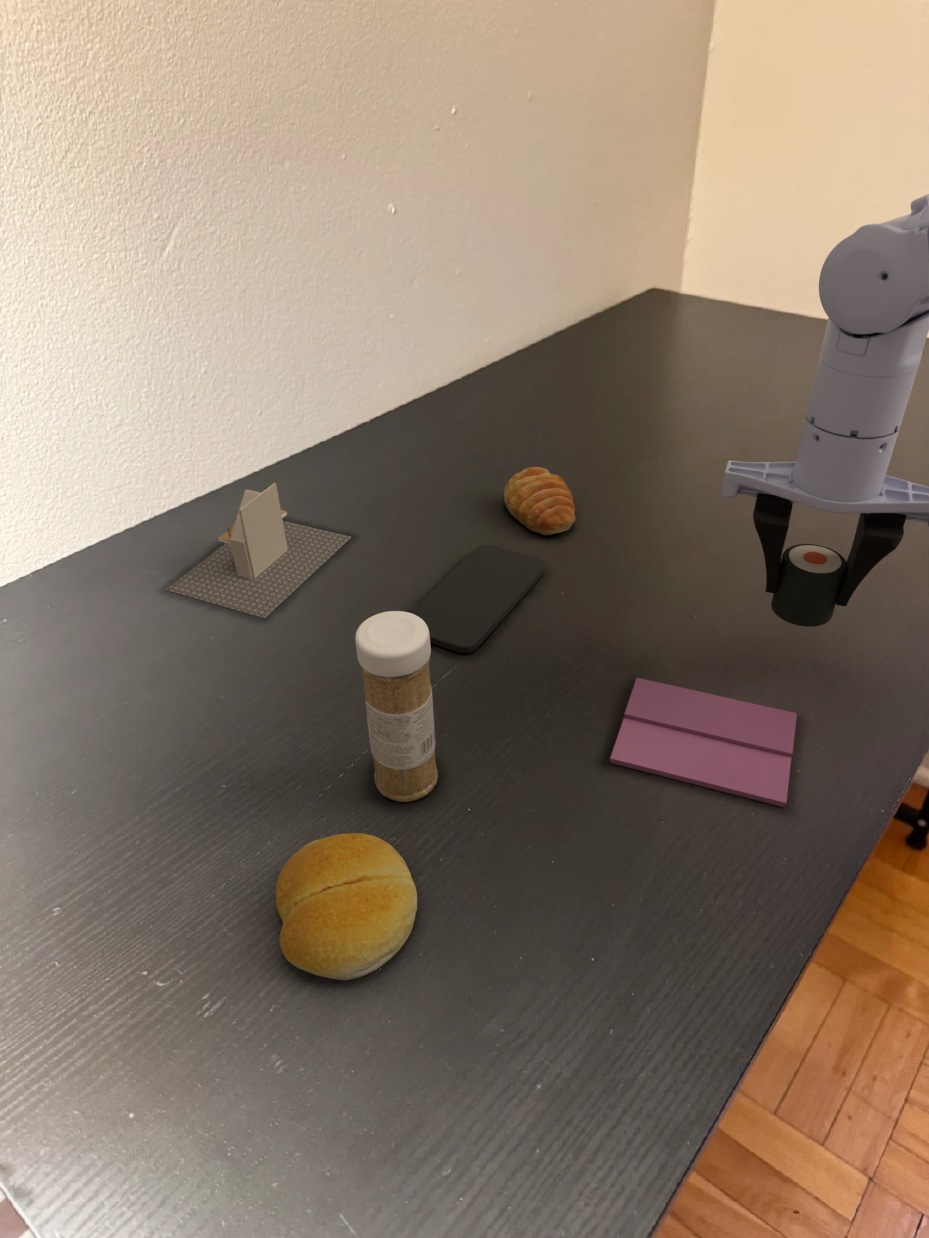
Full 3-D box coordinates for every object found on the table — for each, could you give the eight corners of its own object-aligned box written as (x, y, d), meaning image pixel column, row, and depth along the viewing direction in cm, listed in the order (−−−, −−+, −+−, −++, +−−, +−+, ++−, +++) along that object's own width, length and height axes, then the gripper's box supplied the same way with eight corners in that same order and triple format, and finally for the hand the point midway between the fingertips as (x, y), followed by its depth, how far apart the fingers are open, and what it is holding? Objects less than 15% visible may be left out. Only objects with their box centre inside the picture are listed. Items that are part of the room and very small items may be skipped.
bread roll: (288, 1003, 47) (276, 963, 44) (275, 872, 53) (264, 831, 51) (434, 965, 48) (430, 924, 46) (402, 842, 55) (398, 802, 53)
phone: (395, 624, 72) (481, 541, 83) (396, 632, 73) (481, 549, 83) (470, 650, 69) (549, 561, 80) (470, 658, 70) (549, 568, 80)
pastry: (591, 532, 85) (593, 499, 83) (529, 545, 84) (529, 512, 82) (554, 491, 93) (555, 459, 90) (497, 502, 91) (496, 470, 89)
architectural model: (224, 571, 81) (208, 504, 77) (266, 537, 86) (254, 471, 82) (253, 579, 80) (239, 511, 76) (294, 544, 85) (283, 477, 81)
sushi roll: (833, 599, 65) (848, 547, 62) (831, 632, 61) (846, 579, 59) (773, 588, 66) (786, 537, 63) (768, 620, 63) (780, 567, 60)
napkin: (794, 719, 63) (797, 711, 63) (785, 807, 57) (787, 798, 56) (636, 684, 67) (637, 675, 66) (609, 762, 60) (610, 754, 60)
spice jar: (402, 747, 62) (388, 599, 54) (451, 774, 60) (444, 624, 52) (360, 786, 59) (338, 635, 51) (410, 816, 57) (395, 663, 49)
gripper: (972, 410, 55) (911, 581, 63) (744, 385, 60) (714, 547, 68) (981, 456, 50) (914, 636, 58) (731, 424, 54) (701, 595, 63)
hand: (806, 592), depth 63 cm, fingers closed on sushi roll, 4 cm apart
